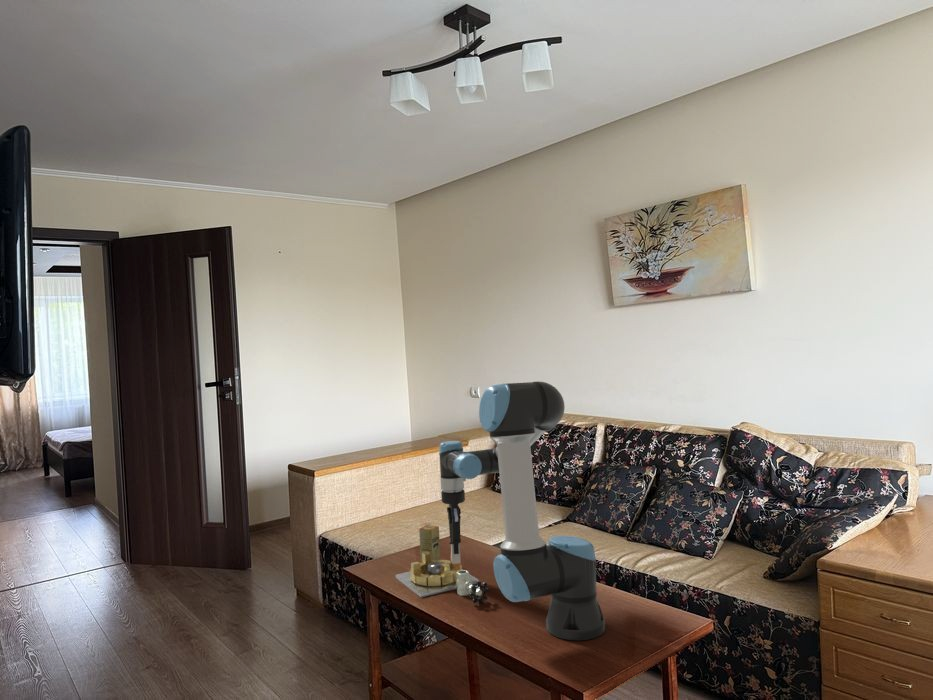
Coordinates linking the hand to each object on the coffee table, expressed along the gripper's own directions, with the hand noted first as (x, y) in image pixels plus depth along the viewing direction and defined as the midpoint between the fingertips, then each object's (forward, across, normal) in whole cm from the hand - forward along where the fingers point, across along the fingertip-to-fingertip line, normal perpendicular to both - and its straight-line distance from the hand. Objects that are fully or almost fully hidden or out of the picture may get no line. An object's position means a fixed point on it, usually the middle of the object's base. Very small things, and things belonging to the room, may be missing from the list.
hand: (456, 562), depth 206 cm
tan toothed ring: (+4, 0, +7) cm, 8 cm away
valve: (+5, -16, -2) cm, 17 cm away
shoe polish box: (+5, +18, +7) cm, 20 cm away
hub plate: (+5, 0, +6) cm, 8 cm away
